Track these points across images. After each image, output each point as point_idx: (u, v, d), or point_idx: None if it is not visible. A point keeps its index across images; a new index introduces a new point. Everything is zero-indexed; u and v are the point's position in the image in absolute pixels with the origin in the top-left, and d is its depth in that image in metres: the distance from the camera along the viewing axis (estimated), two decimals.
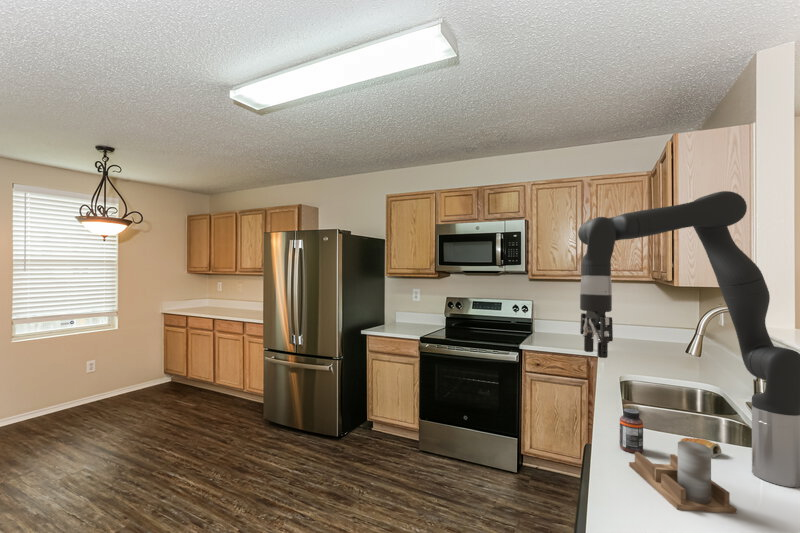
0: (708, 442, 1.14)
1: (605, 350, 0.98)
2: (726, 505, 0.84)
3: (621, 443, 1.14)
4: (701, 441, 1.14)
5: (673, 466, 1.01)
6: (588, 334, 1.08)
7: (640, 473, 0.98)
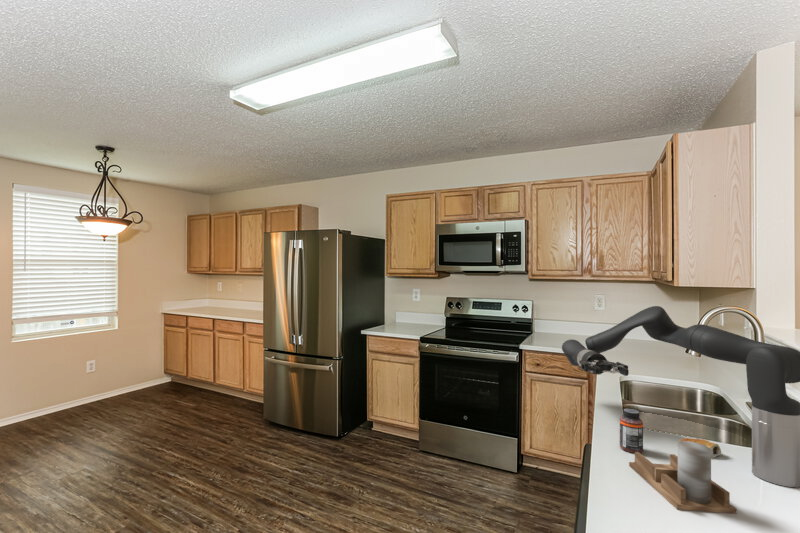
0: (708, 442, 1.13)
1: (593, 368, 1.28)
2: (726, 505, 0.84)
3: (621, 443, 1.14)
4: (701, 441, 1.14)
5: (673, 466, 1.01)
6: None
7: (640, 473, 0.98)
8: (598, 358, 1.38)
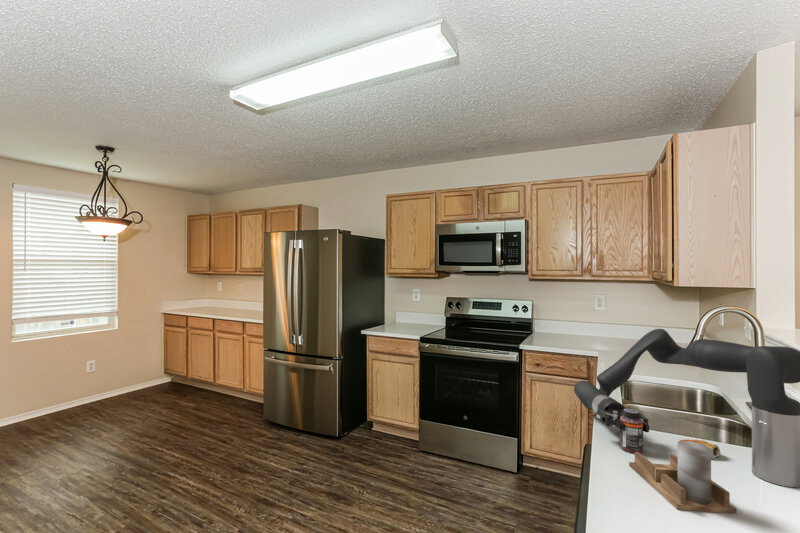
0: (707, 443, 1.13)
1: (616, 423, 1.15)
2: (726, 505, 0.84)
3: (621, 443, 1.14)
4: (701, 443, 1.13)
5: (673, 466, 1.01)
6: None
7: (640, 473, 0.98)
8: (616, 407, 1.24)
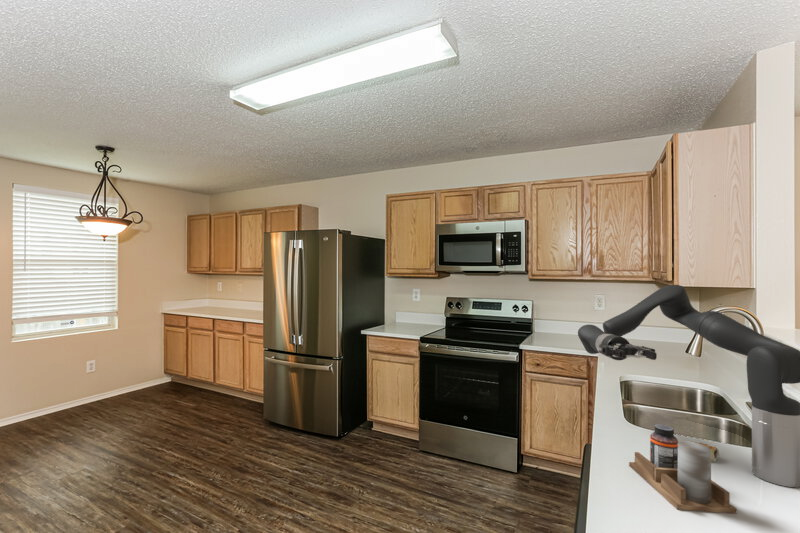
0: (707, 446, 1.11)
1: (616, 352, 1.14)
2: (726, 505, 0.84)
3: None
4: None
5: None
6: None
7: (640, 473, 0.98)
8: (620, 342, 1.23)
